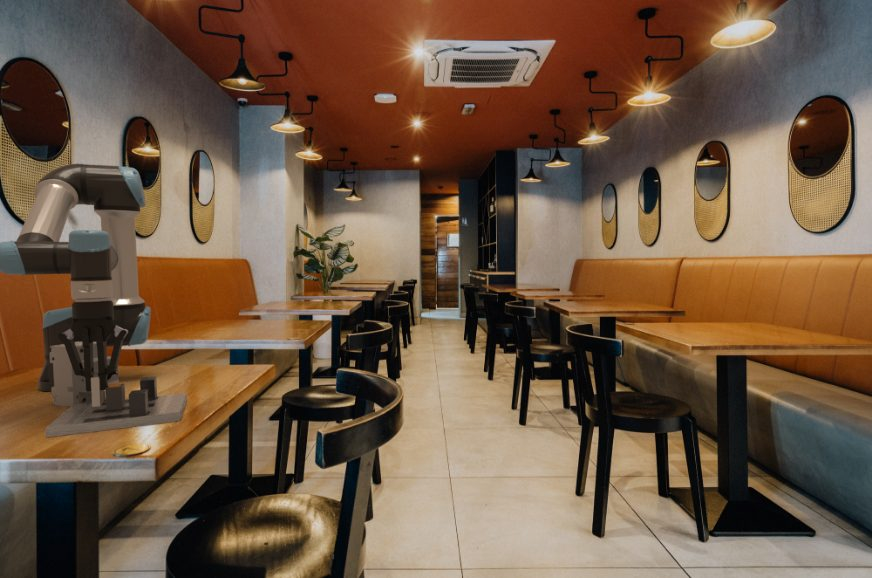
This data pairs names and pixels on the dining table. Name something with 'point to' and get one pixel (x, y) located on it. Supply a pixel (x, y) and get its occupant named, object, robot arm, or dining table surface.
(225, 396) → the dining table surface
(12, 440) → the dining table surface
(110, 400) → the toggle
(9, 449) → the dining table surface
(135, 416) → the breaker panel
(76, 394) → the circuit breaker
